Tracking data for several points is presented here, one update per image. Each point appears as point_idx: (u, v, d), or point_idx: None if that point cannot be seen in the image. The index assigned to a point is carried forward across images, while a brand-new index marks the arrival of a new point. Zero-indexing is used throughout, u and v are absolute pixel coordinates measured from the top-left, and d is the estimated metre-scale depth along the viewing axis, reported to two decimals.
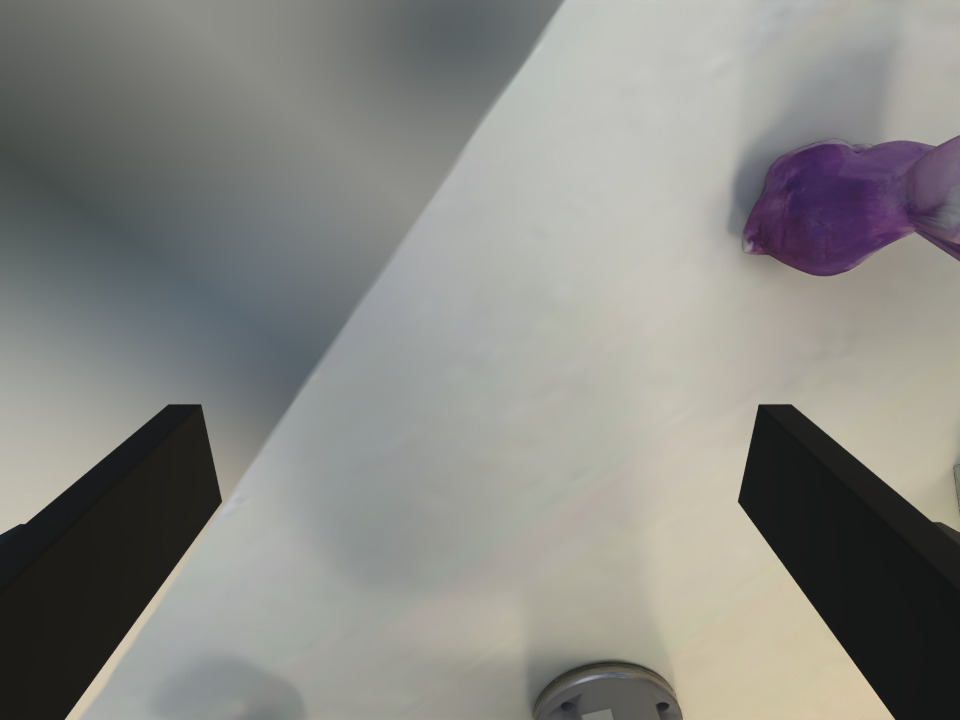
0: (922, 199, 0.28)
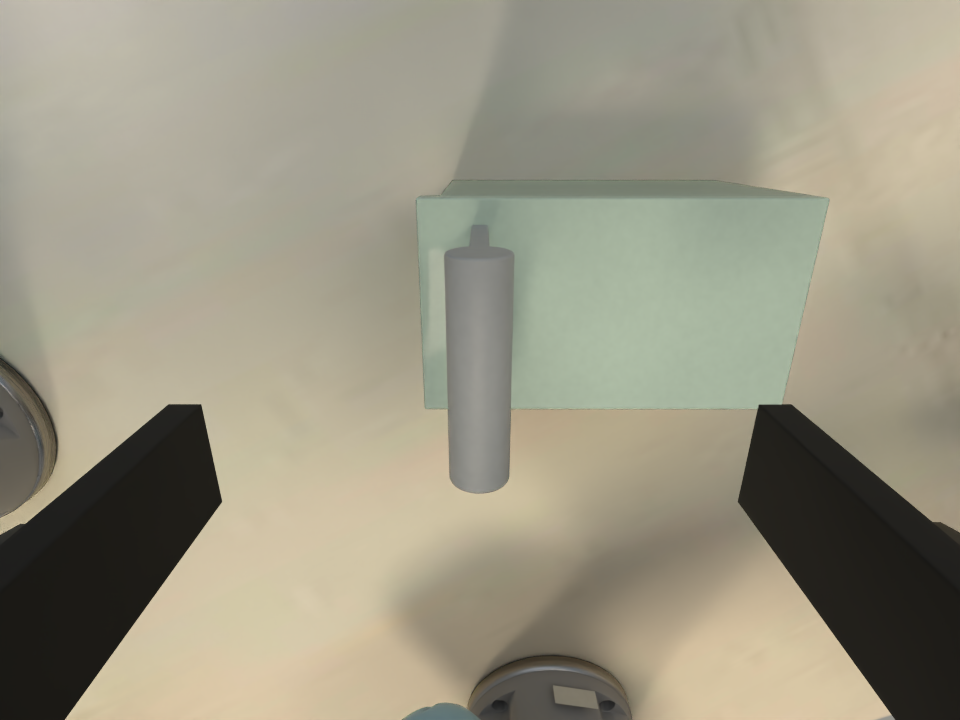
0: None
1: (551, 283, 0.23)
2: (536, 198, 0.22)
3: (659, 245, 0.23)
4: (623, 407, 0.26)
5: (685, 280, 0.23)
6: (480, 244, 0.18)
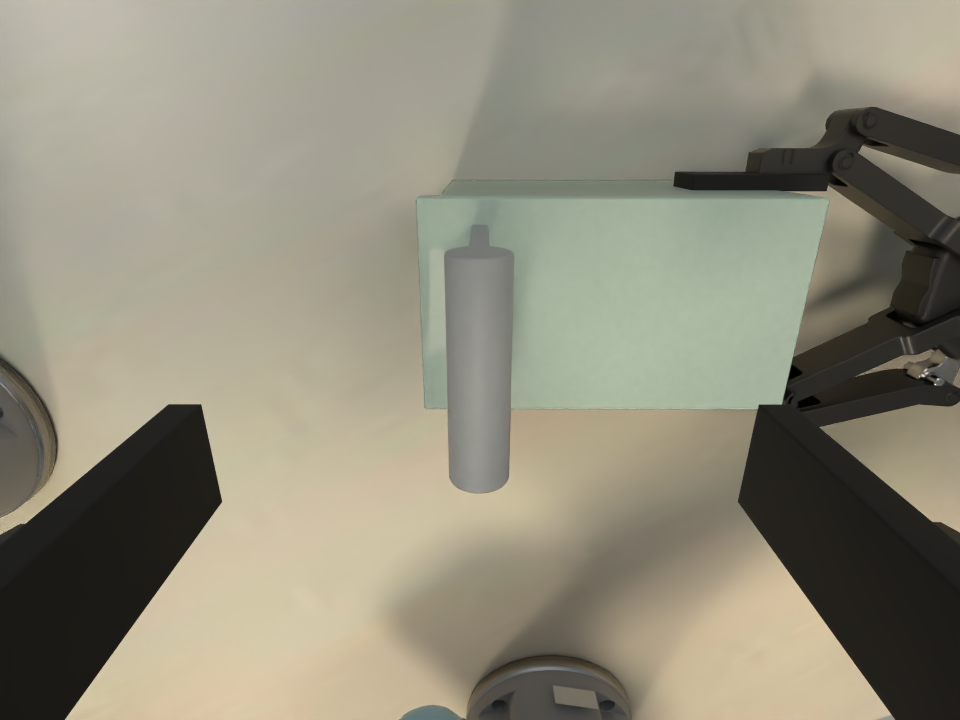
0: None
1: (551, 283, 0.23)
2: (536, 198, 0.22)
3: (659, 245, 0.23)
4: (623, 407, 0.26)
5: (685, 280, 0.23)
6: (480, 244, 0.18)
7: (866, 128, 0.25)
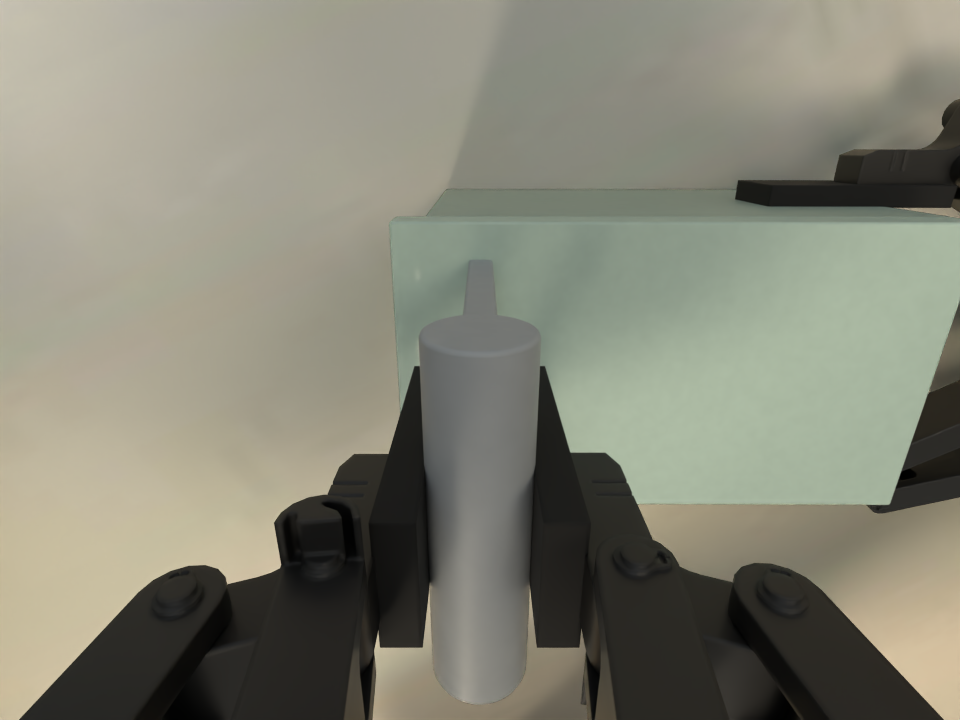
0: None
1: (582, 339, 0.17)
2: (562, 222, 0.15)
3: (736, 288, 0.16)
4: (675, 502, 0.19)
5: (770, 336, 0.17)
6: (481, 304, 0.11)
7: None
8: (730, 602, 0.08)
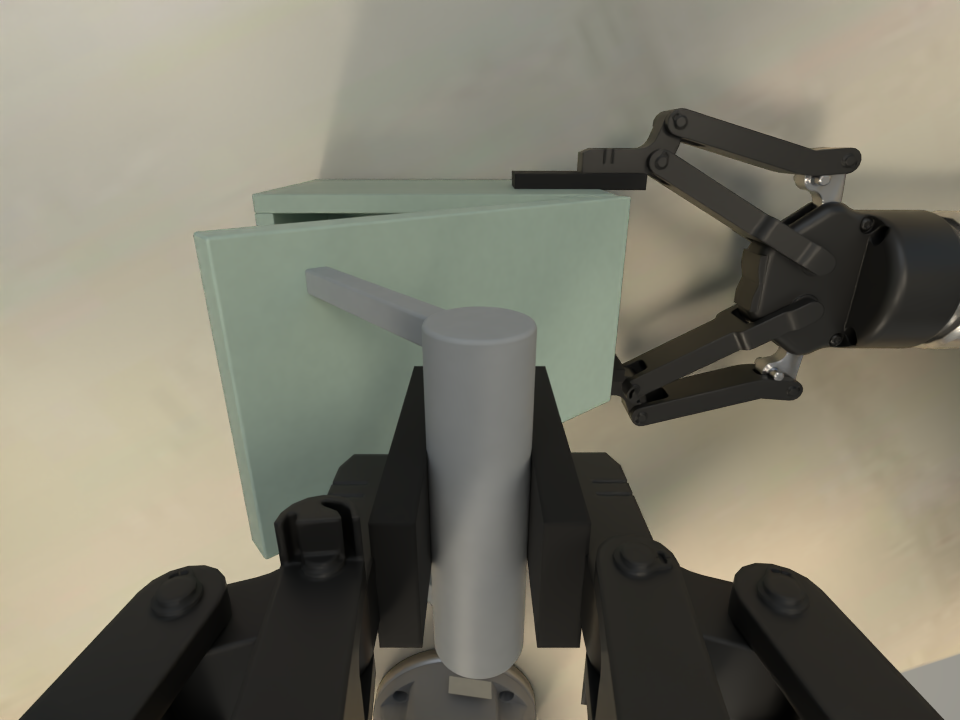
0: None
1: None
2: (385, 220, 0.16)
3: (515, 262, 0.20)
4: None
5: (539, 296, 0.21)
6: (415, 304, 0.11)
7: (677, 129, 0.26)
8: (730, 602, 0.08)
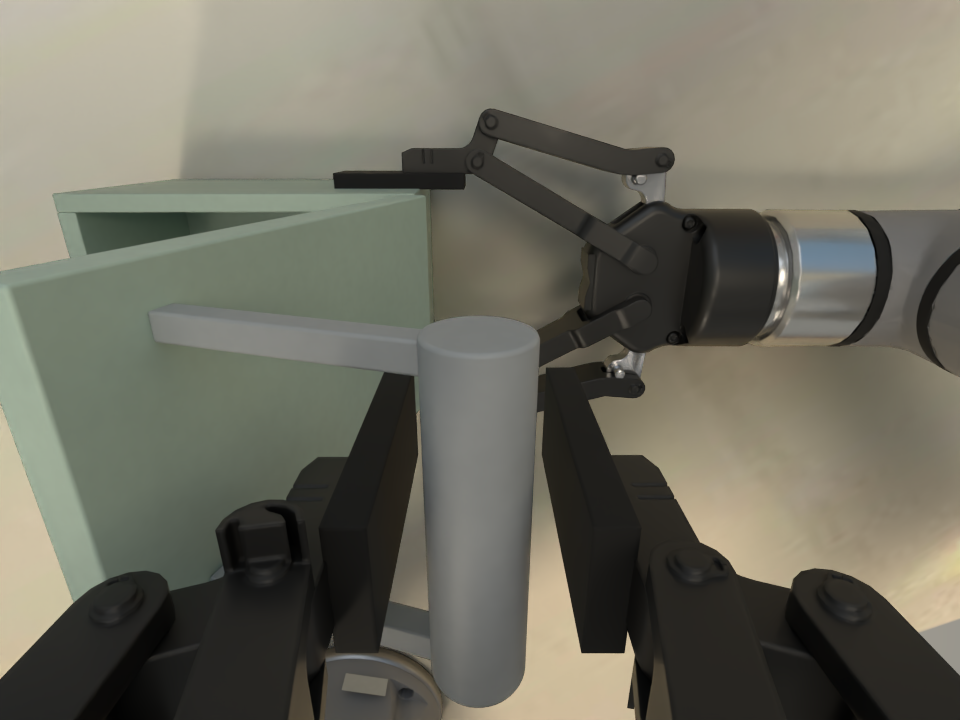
0: None
1: (273, 363, 0.15)
2: (227, 237, 0.13)
3: (351, 271, 0.18)
4: None
5: (372, 304, 0.20)
6: (369, 327, 0.10)
7: (488, 129, 0.26)
8: (789, 608, 0.07)
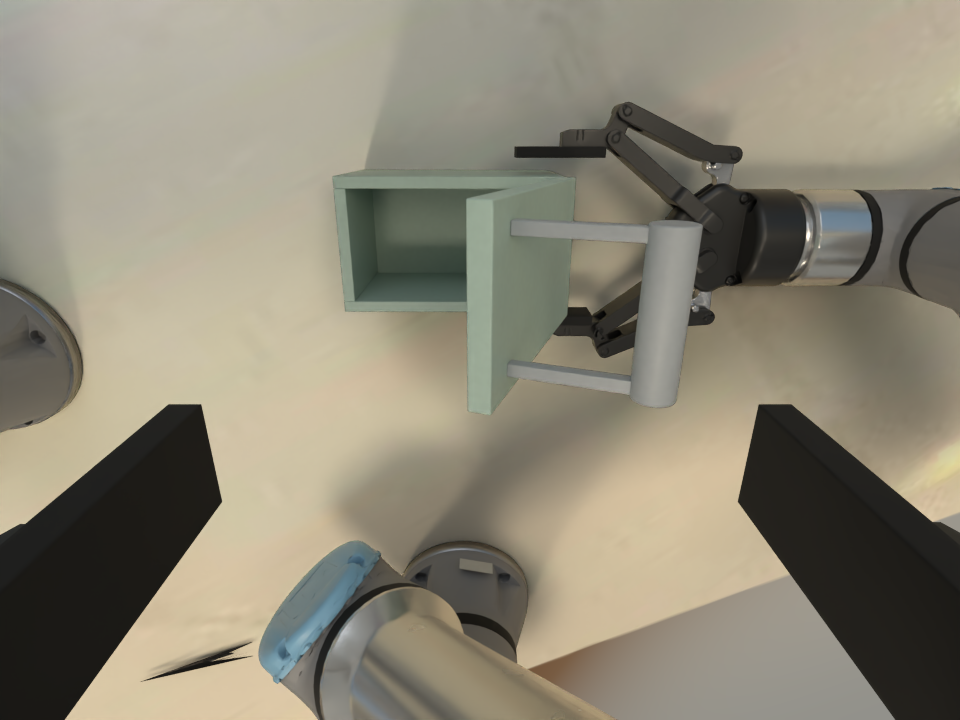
0: None
1: (529, 261, 0.28)
2: (525, 190, 0.26)
3: (551, 218, 0.31)
4: (542, 347, 0.33)
5: (555, 241, 0.33)
6: (622, 224, 0.23)
7: (625, 115, 0.38)
8: None
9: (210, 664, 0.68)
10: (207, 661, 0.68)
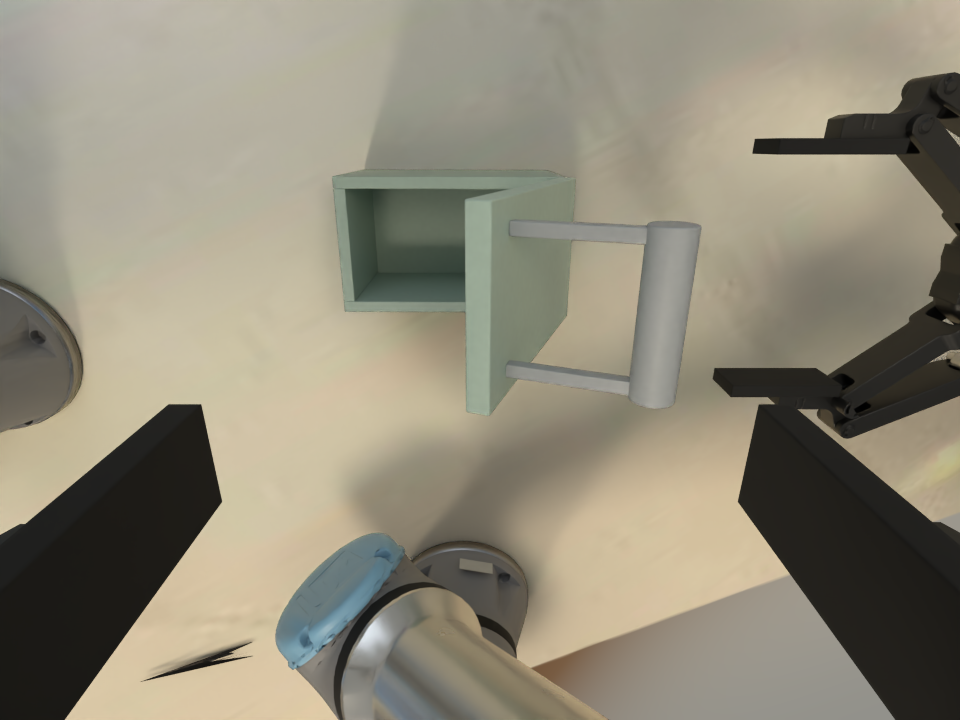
0: None
1: (528, 261, 0.28)
2: (524, 191, 0.26)
3: (550, 219, 0.31)
4: (541, 347, 0.33)
5: (554, 241, 0.33)
6: (620, 225, 0.23)
7: (945, 92, 0.26)
8: None
9: (210, 664, 0.68)
10: (207, 661, 0.68)
